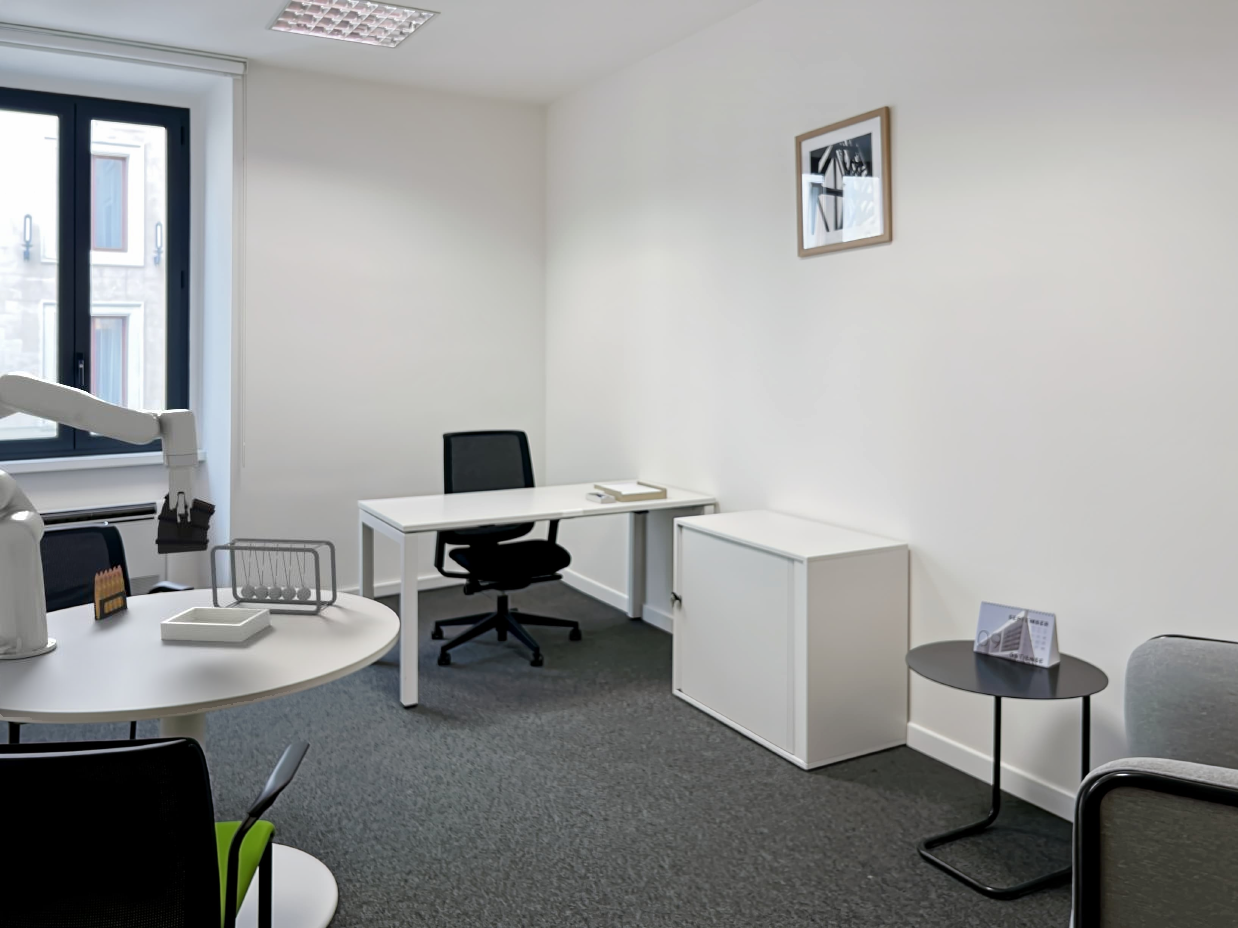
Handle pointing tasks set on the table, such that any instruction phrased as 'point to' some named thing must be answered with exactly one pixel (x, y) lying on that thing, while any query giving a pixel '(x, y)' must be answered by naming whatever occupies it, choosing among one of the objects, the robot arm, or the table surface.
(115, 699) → the table surface
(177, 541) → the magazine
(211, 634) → the parts tray
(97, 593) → the ammunition clip
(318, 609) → the newton's cradle
